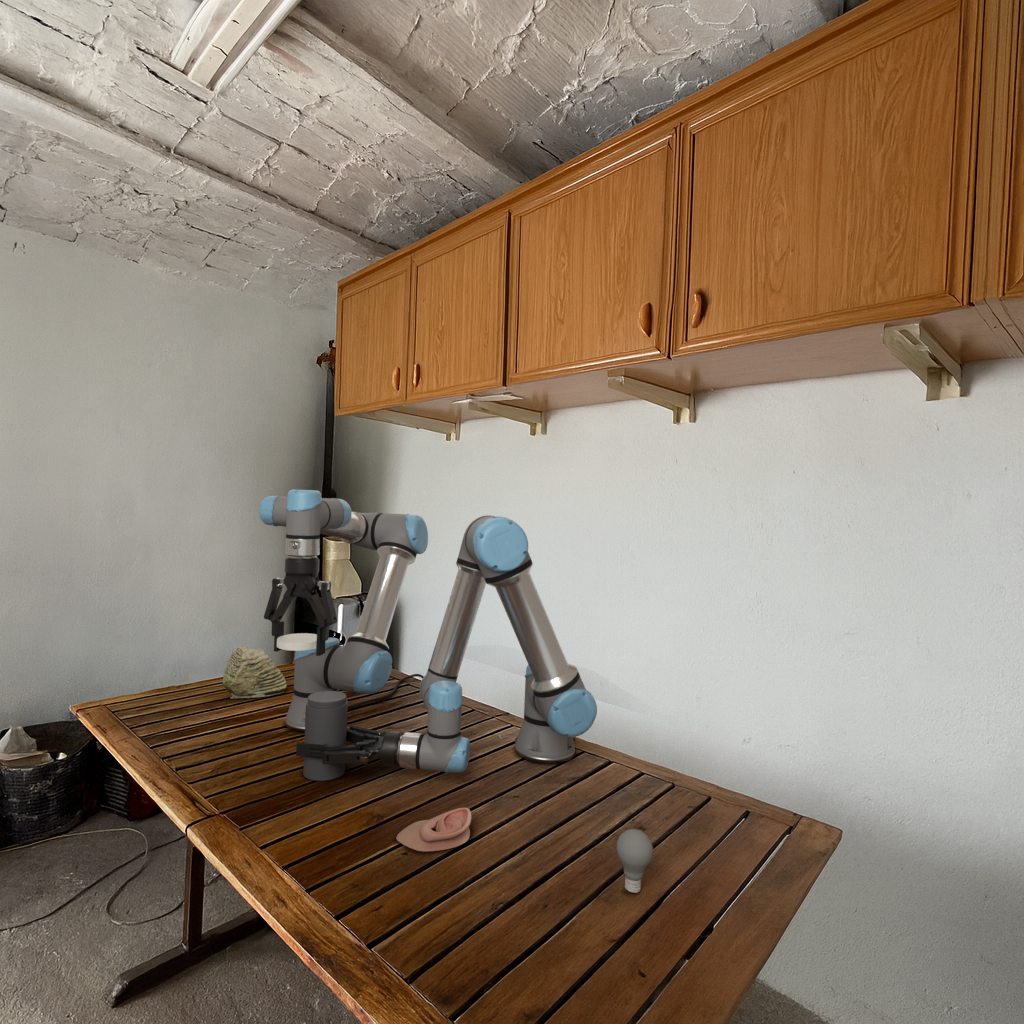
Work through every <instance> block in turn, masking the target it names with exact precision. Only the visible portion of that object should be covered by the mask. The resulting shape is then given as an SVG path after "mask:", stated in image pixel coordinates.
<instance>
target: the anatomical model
mask: <svg viewBox="0 0 1024 1024" xmlns="http://www.w3.org/2000/svg"><path fill="white" fill-rule="evenodd" d="M471 823H472V812H471V810H470V808H469V807H459V808H455V809H452V810H448V811H445V812H443V813H440V814H439V815H437V816H434V817H432V818H430V819H423V820H419V821H415V822H413V823H411V824H409V825H407V826H406V827H404V828H403V829H402V830H401V831H399V833H398V834H397V835H396V836H395V837H396V841H397V842H398V843H399V844H401V845H403V846H404V847H407V848H409V849H411V850H414V851H417V852H423V853H424V852H439V851H445V850H449V849H450V850H451V849H454V848H457V847H459V846H461V845H463V844H465V843H466V842H468V841H469V839H470V836H471V829H470V826H471Z"/></svg>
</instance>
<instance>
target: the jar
mask: <svg viewBox="0 0 1024 1024" xmlns="http://www.w3.org/2000/svg"><path fill="white" fill-rule="evenodd" d="M347 697H348V696H347V694H346V693H344V692H342V691H339V690H337V691H321V692H316V693H313V694H311V695H309V696H308V701H307V702H306V714H305V732H304V742H303V743H307V744H318V745H324V744H326V745H327V747H336V746H346V745H347V742H346V735H347V728H348V709H349V708H348V705H349V702H348V700H347ZM345 772H346V764H323V758H312V757H303V769H302V774H303V776H304V777H305V778H306V779H307V780H310V781H316V782H323V781H331V780H334V779H335V780H336V779H338V778H340V777H342V776H343V775H344V774H345Z"/></svg>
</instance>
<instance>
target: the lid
mask: <svg viewBox="0 0 1024 1024" xmlns="http://www.w3.org/2000/svg"><path fill="white" fill-rule="evenodd" d="M316 646H317V633H308V632H300V633H299V632H297V633H288V634H284V635H283V636H280V637H278V638H277V647H278V648H279V649H282V650H283V651H290V652H292V651H293V652H296V651H303V650H311V649H316Z"/></svg>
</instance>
